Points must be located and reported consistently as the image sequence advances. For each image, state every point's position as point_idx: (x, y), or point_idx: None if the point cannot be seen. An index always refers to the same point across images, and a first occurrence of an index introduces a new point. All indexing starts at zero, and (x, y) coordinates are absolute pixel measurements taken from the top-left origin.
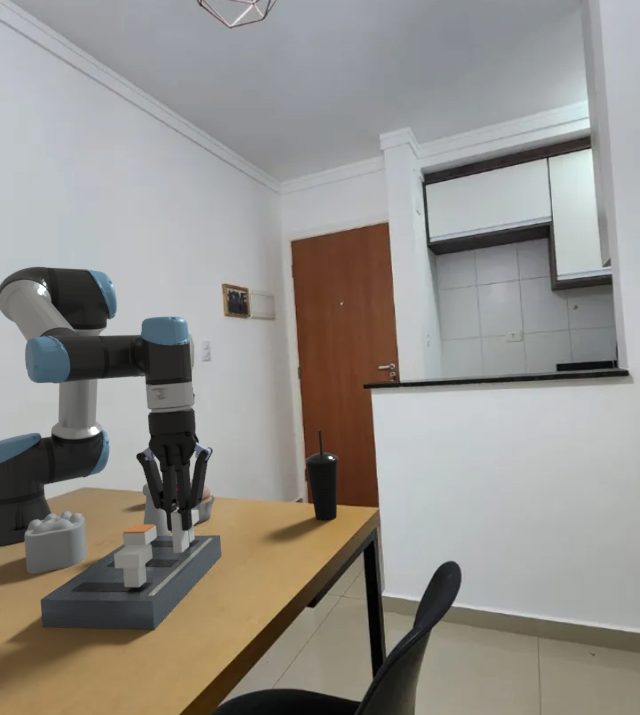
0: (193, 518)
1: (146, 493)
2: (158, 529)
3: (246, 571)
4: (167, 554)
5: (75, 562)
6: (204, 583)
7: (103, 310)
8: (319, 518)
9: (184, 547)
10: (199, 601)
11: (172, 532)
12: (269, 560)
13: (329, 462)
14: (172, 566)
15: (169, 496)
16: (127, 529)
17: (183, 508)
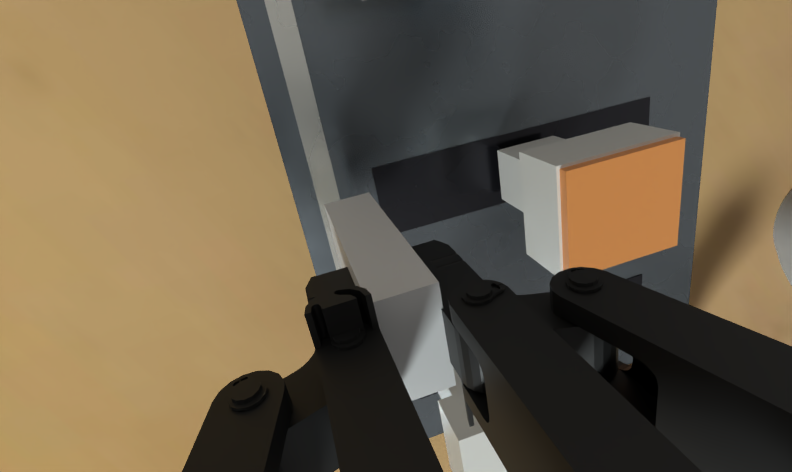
0: (453, 448)
1: None
2: None
3: (175, 350)
4: (468, 262)
5: (786, 209)
6: (271, 230)
7: None
8: None
9: (333, 236)
10: (183, 106)
11: (393, 228)
12: (150, 441)
13: None
14: (366, 173)
15: (509, 371)
16: (681, 175)
17: (333, 340)
